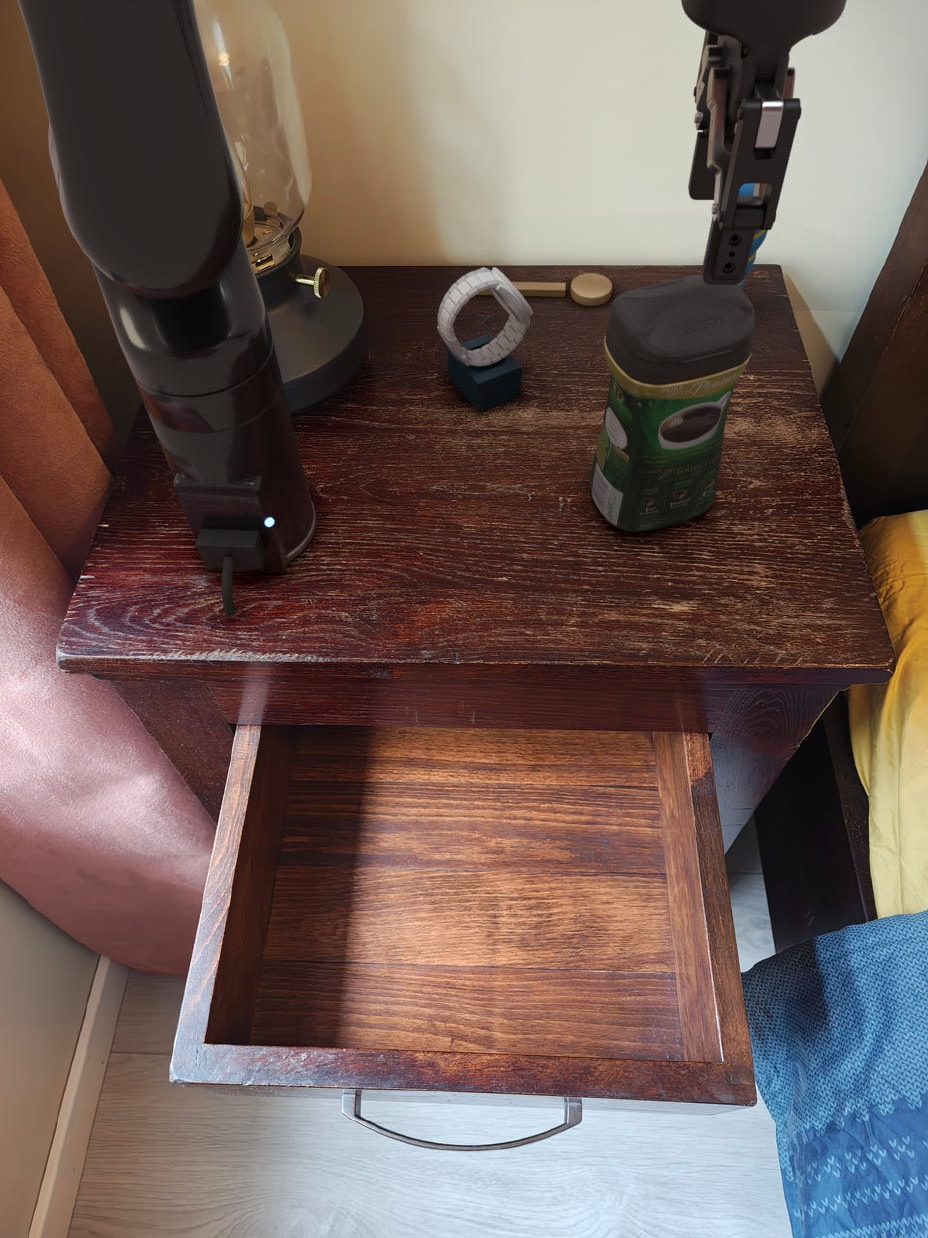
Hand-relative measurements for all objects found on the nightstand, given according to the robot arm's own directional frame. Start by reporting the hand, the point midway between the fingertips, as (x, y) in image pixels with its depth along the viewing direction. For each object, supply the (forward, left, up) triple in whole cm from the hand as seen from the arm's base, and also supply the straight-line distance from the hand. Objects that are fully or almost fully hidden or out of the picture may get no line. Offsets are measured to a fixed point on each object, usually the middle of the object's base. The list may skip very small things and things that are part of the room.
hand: (713, 237), depth 53 cm
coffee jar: (+2, 0, -24) cm, 24 cm away
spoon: (+29, +9, -24) cm, 39 cm away
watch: (+15, +14, -24) cm, 32 cm away
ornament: (+27, -8, -24) cm, 37 cm away
